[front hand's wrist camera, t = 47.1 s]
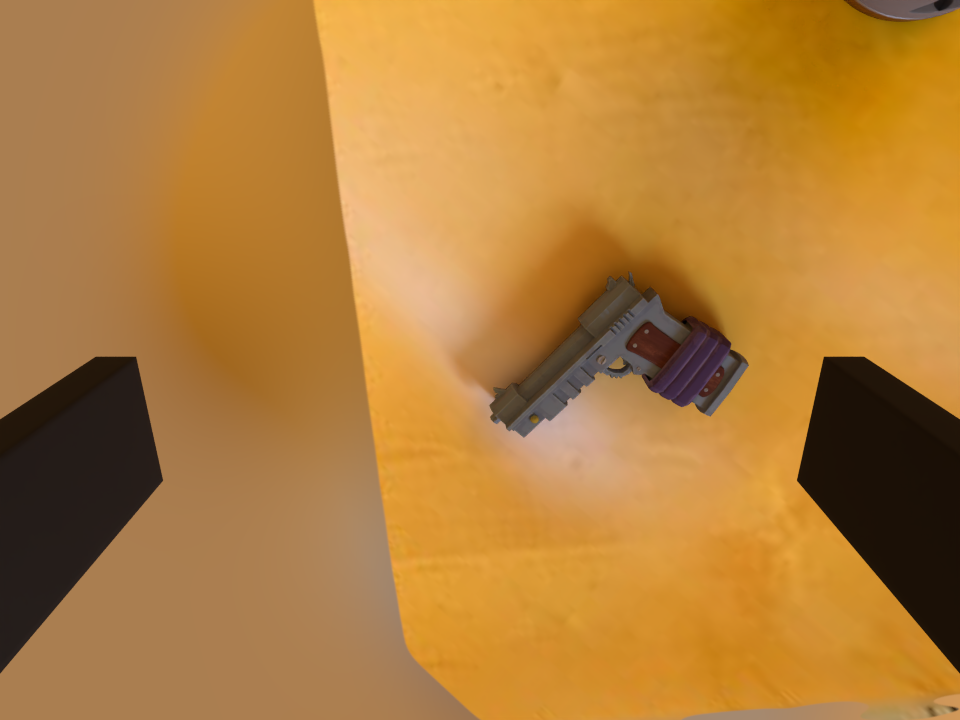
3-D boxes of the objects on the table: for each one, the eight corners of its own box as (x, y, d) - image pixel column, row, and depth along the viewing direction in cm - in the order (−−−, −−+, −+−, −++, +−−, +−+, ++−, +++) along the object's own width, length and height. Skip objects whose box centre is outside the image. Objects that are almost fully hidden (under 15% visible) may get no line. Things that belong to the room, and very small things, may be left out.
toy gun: (592, 491, 61) (476, 396, 57) (746, 358, 55) (629, 243, 52) (599, 516, 57) (475, 415, 53) (764, 375, 52) (640, 253, 48)
